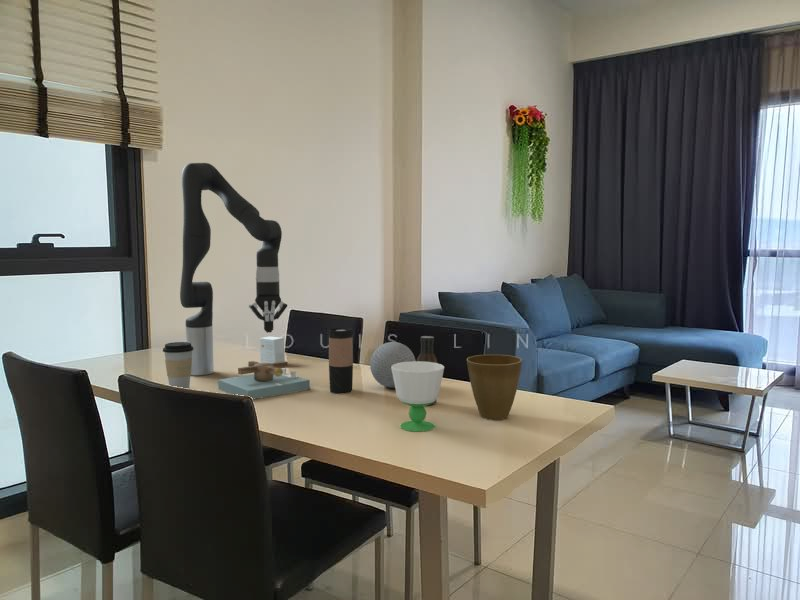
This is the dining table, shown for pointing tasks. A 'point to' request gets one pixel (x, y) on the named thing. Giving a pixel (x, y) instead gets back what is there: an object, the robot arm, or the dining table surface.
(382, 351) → the decorative ball
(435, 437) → the dining table surface
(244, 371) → the capstan
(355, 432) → the dining table surface
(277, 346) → the small box
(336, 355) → the travel mug
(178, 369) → the coffee cup
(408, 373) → the cup
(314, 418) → the dining table surface
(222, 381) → the stand
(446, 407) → the dining table surface
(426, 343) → the sauce bottle
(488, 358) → the plant pot
